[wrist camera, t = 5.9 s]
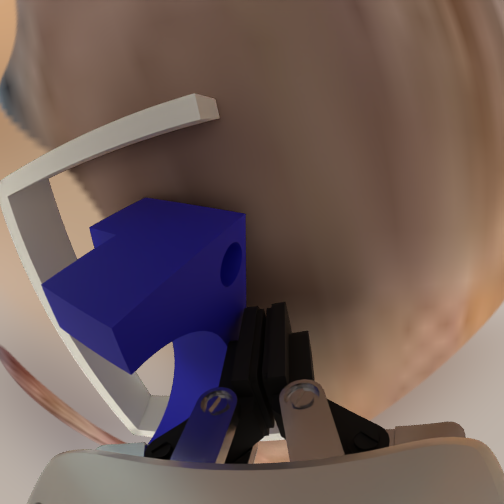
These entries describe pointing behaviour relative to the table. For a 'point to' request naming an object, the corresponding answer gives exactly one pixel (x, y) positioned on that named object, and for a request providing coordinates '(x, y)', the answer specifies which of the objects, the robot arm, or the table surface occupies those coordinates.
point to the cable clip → (159, 293)
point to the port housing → (62, 254)
